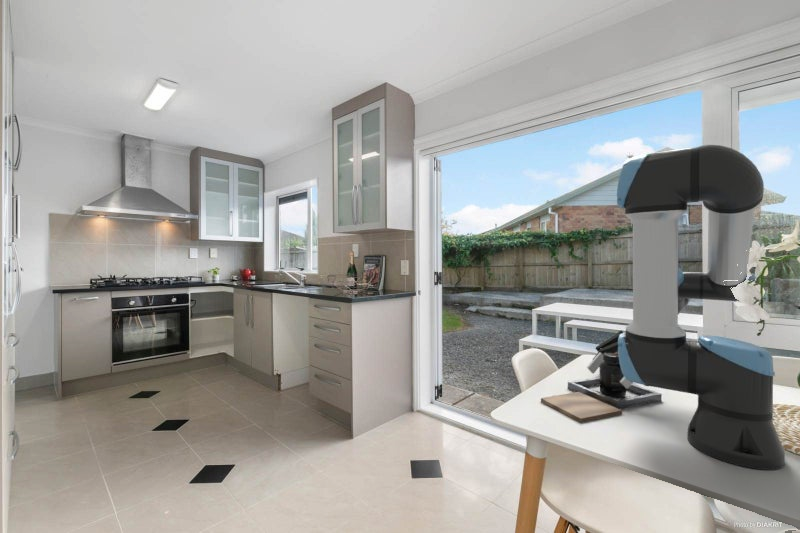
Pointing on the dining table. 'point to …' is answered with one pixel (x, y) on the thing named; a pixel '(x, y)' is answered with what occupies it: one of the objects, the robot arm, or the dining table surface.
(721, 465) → the dining table surface
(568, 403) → the walnut board
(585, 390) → the metal rim
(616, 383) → the supplement bottle
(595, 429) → the dining table surface
